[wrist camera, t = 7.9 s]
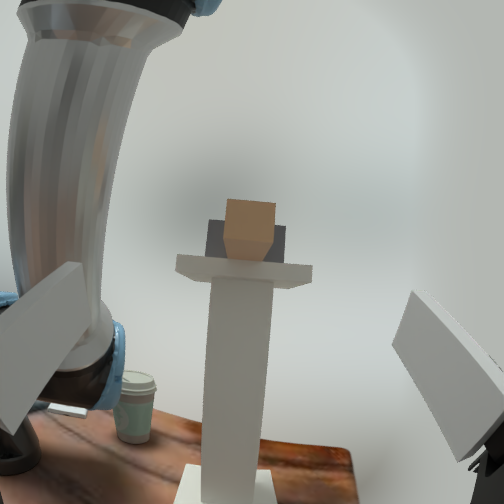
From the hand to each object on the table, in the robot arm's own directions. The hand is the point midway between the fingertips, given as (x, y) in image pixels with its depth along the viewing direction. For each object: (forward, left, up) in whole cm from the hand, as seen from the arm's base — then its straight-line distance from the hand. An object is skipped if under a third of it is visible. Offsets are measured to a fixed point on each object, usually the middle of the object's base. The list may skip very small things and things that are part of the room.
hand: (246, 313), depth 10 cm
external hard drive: (-18, +49, -27) cm, 59 cm away
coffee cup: (-4, +38, -26) cm, 46 cm away
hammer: (+5, +15, +4) cm, 16 cm away
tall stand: (+7, +19, -26) cm, 33 cm away
